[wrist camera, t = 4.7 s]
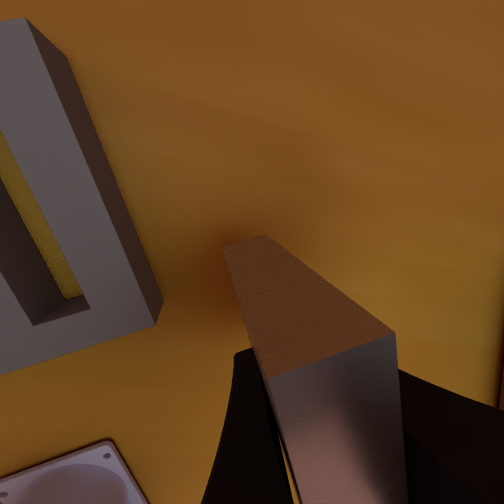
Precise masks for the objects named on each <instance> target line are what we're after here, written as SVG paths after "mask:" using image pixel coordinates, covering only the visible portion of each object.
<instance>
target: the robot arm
mask: <svg viewBox="0 0 504 504" xmlns="http://www.w3.org/2000/svg"><path fill="white" fill-rule="evenodd" d="M398 374H399V388H400V401H401V414H402V427H403V440H404V453H405V466H406V479H407V493H408V504H504V411H503V410H500V409H497V408H495V407H492V406H489V405H486V404H483V403H480V402H477V401H475V400H472V399H469V398H466V397H464V396H461V395H459V394H456V393H454V392H451V391H449V390H446V389H444V388H441V387H439V386H436V385H434V384H431V383H429V382H426V381H424V380H422V379H419V378H417V377H415V376H413V375H410V374H408V373H406V372H404V371H402V370H400V369H398ZM0 502H1V503H2V504H148V503H147V501H146V499H145V498H144V496H143V494H142V493H141V491H140V489H139V488H138V486H137V484H136V482H135V481H134V479H133V477H132V476H131V474H130V472H129V470H128V469H127V467H126V465H125V464H124V462H123V460H122V458H121V457H120V455H119V453H118V452H117V450H116V448H115V447H114V445H113V443H112V442H110V441H103V442H101V443H98V444H95V445H92V446H90V447H87V448H84V449H82V450H79V451H76V452H73V453H71V454H68V455H65V456H63V457H60V458H57V459H54V460H52V461H49V462H46V463H43V464H41V465H38V466H35V467H33V468H30V469H27V470H24V471H22V472H19V473H16V474H14V475H11V476H8V477H5V478H3V479H0ZM201 504H294V502H293V498H292V493H291V489H290V484H289V480H288V476H287V471H286V467H285V462H284V458H283V453H282V449H281V444H280V440H279V435H278V431H277V428H276V424H275V421H274V417H273V414H272V411H271V407H270V404H269V400H268V397H267V393H266V390H265V386H264V383H263V380H262V376H261V373H260V369H259V366H258V363H257V360H256V357H255V354H254V351H253V348H249V349H246V350H243V351H240V352H237V353H236V354H235V356H234V368H233V378H232V385H231V392H230V397H229V402H228V408H227V413H226V417H225V422H224V426H223V430H222V434H221V438H220V442H219V446H218V450H217V453H216V457H215V460H214V464H213V467H212V471H211V474H210V477H209V480H208V483H207V486H206V490H205V493H204V496H203V499H202V502H201Z"/></svg>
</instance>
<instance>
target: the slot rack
mask: <svg viewBox="0 0 504 504" xmlns="http://www.w3.org/2000/svg"><path fill="white" fill-rule="evenodd" d="M0 130H1V132H2V134H3V136H4V138H5V140H6V142H7V143H8V145H9V147H10V149H11V151H12V153H13V155H14V157H15V159H16V161H17V163H18V165H19V167H20V169H21V171H22V173H23V175H24V177H25V179H26V181H27V183H28V185H29V187H30V189H31V191H32V193H33V195H34V197H35V199H36V201H37V203H38V205H39V207H40V209H41V211H42V213H43V215H44V217H45V219H46V221H47V223H48V225H49V227H50V229H51V231H52V233H53V235H54V237H55V239H56V241H57V243H58V244H59V246H60V248H61V250H62V252H63V254H64V256H65V258H66V260H67V262H68V264H69V266H70V268H71V270H72V272H73V274H74V276H75V278H76V280H77V282H78V284H79V286H80V288H81V290H82V292H83V294H84V295H80V296H77V297H73V298H70V299H67V300H65V299H64V298H63V296H62V294H61V292H60V290H59V288H58V286H57V284H56V283H55V281H54V279H53V277H52V275H51V273H50V271H49V270H48V268H47V266H46V264H45V262H44V260H43V258H42V256H41V255H40V253H39V251H38V249H37V247H36V245H35V243H34V242H33V240H32V238H31V236H30V234H29V232H28V230H27V228H26V227H25V225H24V223H23V221H22V219H21V217H20V215H19V213H18V212H17V210H16V208H15V206H14V204H13V202H12V200H11V199H10V197H9V195H8V193H7V191H6V189H5V187H4V185H3V184H2V182H1V180H0V375H2V374H5V373H8V372H11V371H14V370H18V369H21V368H24V367H27V366H30V365H33V364H36V363H39V362H43V361H46V360H49V359H52V358H55V357H58V356H61V355H64V354H68V353H71V352H74V351H77V350H80V349H83V348H86V347H89V346H93V345H96V344H99V343H102V342H105V341H108V340H111V339H114V338H118V337H121V336H124V335H127V334H130V333H133V332H136V331H139V330H143V329H146V328H149V327H152V326H155V325H156V322H157V319H158V316H159V313H160V310H161V307H162V304H163V299H162V296H161V294H160V291H159V289H158V286H157V284H156V281H155V279H154V276H153V274H152V271H151V269H150V266H149V264H148V261H147V259H146V256H145V253H144V251H143V248H142V246H141V243H140V241H139V238H138V236H137V233H136V231H135V228H134V226H133V223H132V221H131V218H130V216H129V213H128V211H127V208H126V206H125V203H124V201H123V198H122V196H121V193H120V191H119V188H118V186H117V183H116V181H115V178H114V176H113V173H112V171H111V168H110V166H109V163H108V161H107V158H106V156H105V153H104V151H103V148H102V146H101V143H100V141H99V138H98V136H97V133H96V131H95V128H94V126H93V123H92V121H91V118H90V116H89V113H88V110H87V108H86V105H85V103H84V100H83V98H82V95H81V93H80V90H79V88H78V85H77V83H76V80H75V78H74V75H73V73H72V70H71V68H70V65H69V63H68V60H67V58H66V56H65V55H64V54H63V53H62V52H61V51H60V50H59V49H57V48H56V47H55V46H54V45H53V44H52V43H51V42H50V41H49V40H48V39H47V38H46V37H45V36H44V35H43V34H42V33H41V32H40V31H39V30H38V29H37V28H36V27H34V26H33V25H32V24H31V23H30V22H29V21H28V20H27V19H26V18H18V19H12V20H6V21H0Z"/></svg>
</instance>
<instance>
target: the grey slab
mask: <svg viewBox="0 0 504 504" xmlns="http://www.w3.org/2000/svg"><path fill="white" fill-rule="evenodd" d="M222 249H223V252H224V255H225V259H226V262H227V266H228V269H229V272H230V276H231V279H232V283H233V286H234V290H235V293H236V296H237V300H238V303H239V307H240V310H241V313H242V317H243V320H244V324H245V327H246V330H247V334H248V337H249V341H250V344H251V348H253V351H254V354H255V357H256V360H257V363H258V366H259V369H260V373H261V376H262V380H263V383H264V386H265V390H266V393H267V397H268V400H269V404H270V407H271V411H272V414H273V417H274V421H275V424H276V428H277V431H278V435H279V440H280V444H281V447H282V451H283V454H284V457H285V460H286V464H287V467H288V470H289V473H290V477H291V480H292V483H293V486H294V490H295V493H296V496H297V499H298V503H299V504H408V493H407V479H406V466H405V453H404V440H403V427H402V414H401V401H400V388H399V374H398V361H397V348H396V335H395V332H394V331H393V330H391V329H390V328H389V327H387V326H386V325H385V324H383V323H382V322H381V321H379V320H378V319H377V318H376V317H374V316H373V315H372V314H370V313H369V312H368V311H366V310H365V309H364V308H362V307H361V306H360V305H358V304H357V303H356V302H354V301H353V300H352V299H350V298H349V297H348V296H346V295H345V294H344V293H342V292H341V291H340V290H338V289H337V288H336V287H334V286H333V285H332V284H330V283H329V282H328V281H326V280H325V279H324V278H323V277H321V276H320V275H319V274H317V273H316V272H315V271H313V270H312V269H311V268H309V267H308V266H307V265H305V264H304V263H303V262H301V261H300V260H299V259H297V258H296V257H295V256H293V255H292V254H291V253H289V252H288V251H287V250H285V249H284V248H283V247H281V246H280V245H279V244H277V243H276V242H275V241H273V240H272V239H271V238H270V237H268V236H267V235H266V234H264V235H261V236H257V237H254V238H251V239H247V240H244V241H240V242H237V243H233V244H230V245H226V246H223V247H222Z"/></svg>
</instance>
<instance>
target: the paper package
mask: <svg viewBox="0 0 504 504" xmlns="http://www.w3.org/2000/svg"><path fill="white" fill-rule="evenodd" d="M499 409H500V410H503V411H504V366H503V374H502V385H501V394H500V403H499Z"/></svg>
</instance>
